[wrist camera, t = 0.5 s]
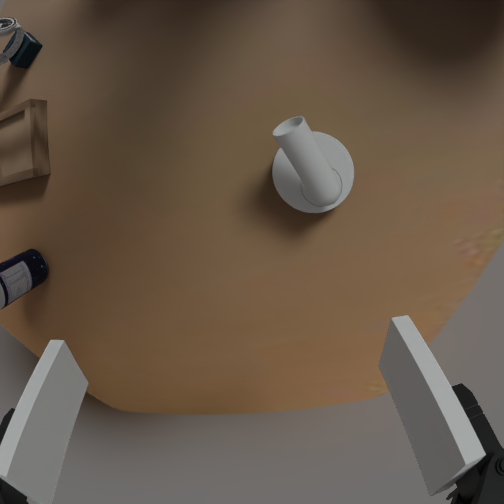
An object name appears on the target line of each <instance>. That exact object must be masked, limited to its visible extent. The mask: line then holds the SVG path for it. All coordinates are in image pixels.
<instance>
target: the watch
mask: <svg viewBox="0 0 504 504" xmlns="http://www.w3.org/2000/svg"><path fill="white" fill-rule="evenodd" d="M13 31H15V33H14V35H13V36H12V38H11V39H10V41H9V42H8V44H7V46H6V47H5V49H4V51H3V54H2V53H1V54H0V65H1V64H3V63H5V62H7V60H8V59H9V60H10V62H11V63H12V64H13V65H14V66H15V67H21V68H26V69H28V67H29V66H30V64H31V63H32V61H33V59H34V58H35V56H36V55H37V53H38V52H39V50H40V49H41V47H42V45H41V44H40V43H39V42H38V41H37V40H36V39H35V38H34V37H33V36H32V35H31V34H30V33H28V32H25V31H23V29H22V27H21V26H20V25H19V24H18V23H17V21H16V20H15V19H14V18H11V17H2V18H0V38H2V37H5V36H8V35H10V34H11V33H12V32H13Z"/></svg>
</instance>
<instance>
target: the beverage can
mask: <svg viewBox="0 0 504 504" xmlns="http://www.w3.org/2000/svg"><path fill="white" fill-rule="evenodd" d="M47 270H48V267H47V262H46V260H45V258H44V256H43V255H42V254H41V253H39V252H38V251H37V250H35V249H29V250H27V251H25V252H23V253H21V254H18V255H16V256H14V257H12V258H10V259H8V260H6V261H4V262H2V263H0V309H2V308H4V307H6V306H7V305H9V304H10V303H12V302H13V301H15V300H16V299H18V298H19V297H21V296H22V295H24V294H25V293H27V292H29V291H30V290H32V289H33V288H35V287H36V286H38V285H40V284H41V283H43V282H44V281H45V280H46V278H47Z"/></svg>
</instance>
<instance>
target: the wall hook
mask: <svg viewBox="0 0 504 504" xmlns="http://www.w3.org/2000/svg"><path fill="white" fill-rule="evenodd" d="M273 136H274V137H275V139H276V140H277V142H278V143H279V145H280V149H279V150H278V152H277V154H276V156H275V158H274V162H273V167H272V176H273V182H274V185H275V188H276V190H277V192H278V193H279V195H280V196H281V198H282V199H283V200H284V201H285V202H286V203H287V204H289V205H290V206H292V207H293V208H295V209H297V210H300V211H303V212H307V213H321V212H325V211H328V210H331V209H333V208H335V207H336V206H338V205H339V204H340V203H341V202H342V201H343V200H344V199H345V198H346V197H347V195H348V194H349V192H350V190H351V187H352V184H353V180H354V167H353V162H352V159H351V157H350V155H349V153H348V151H347V150H346V148H345V147H344V146H343V145H342V144H341V143H340V142H339V141H338V140H336V139H335V138H333V137H332V136H330V135H327V134H324V133H320V132H311V130H310V128H309V126H308V125H307V123H306V121H305V119H304V118H303V117H302V116H297V117H293V118H290V119H288V120H286V121H284V122H283V123H281V124H280V125H279V126H277V127H276V128H275V130H274V131H273Z"/></svg>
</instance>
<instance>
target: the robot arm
mask: <svg viewBox="0 0 504 504" xmlns="http://www.w3.org/2000/svg"><path fill="white" fill-rule="evenodd" d="M379 368H380V370H381V372H382V375H383V377H384V379H385V382H386V384H387V386H388V389H389V391H390V393H391V395H392V398H393V400H394V403H395V405H396V408H397V410H398V413H399V415H400V417H401V420H402V422H403V425H404V427H405V430H406V432H407V435H408V438H409V440H410V443H411V445H412V448H413V451H414V453H415V456H416V459H417V461H418V464H419V467H420V470H421V472H422V475H423V478H424V481H425V484H426V486H427V489H428V492H429V495H430V496H432V495H435V494H437V493H440V492H442V491H444V490H447V489H449V488H450V487H451V486H452V485H453V484H455V483H456V485H457V488H456V489H455V490H454V491H453V492H451V493H450V494H449V495H448V497H447V498H446V500H449V499H450V498H452V497H453V499H452V501H451V504H504V449H503V448H502V446H501V445H500V443H499V442H498V440H497V438H496V436H495V434H494V432H493V430H492V428H491V426H490V424H489V422H488V420H487V418H486V417H485V415H484V414H483V411H482V409H481V407H480V406H479V405H478V402H477V400H476V399H475V397H474V395H473V393H472V392H471V391H470V390H469V389H467V388H466V387H465V386H464V385H463V384H462V383H461V384H458V385H455V386H452V387H451V386H450V384H449V383H448V380H447V379H446V377H445V375H444V373H443V372H442V370H441V368H440V367H439V365H438V363H437V361H436V360H435V358H434V356H433V355H432V353H431V351H430V350H429V348H428V346H427V345H426V343H425V341H424V340H423V338H422V337H421V335H420V333H419V332H418V330H417V329H416V327H415V325H414V324H413V322H412V321H411V319H410V318H409V316H408V315H406V316H400V317H394V318H391V321H390V325H389V329H388V333H387V337H386V340H385V344H384V348H383V351H382V355H381V358H380V362H379ZM87 386H88V381H87V380H86V378H85V376H84V375H83V373H82V371H81V370H80V368H79V366H78V364H77V363H76V361H75V359H74V357H73V356H72V354H71V352H70V350H69V348H68V346H67V345H66V343H65V341H64V340H50V342H49V343H48V345H47V347H46V349H45V351H44V353H43V354H42V356H41V358H40V360H39V362H38V364H37V366H36V368H35V370H34V372H33V374H32V376H31V378H30V380H29V382H28V384H27V386H26V388H25V390H24V392H23V395H22V396H21V398H20V401H19V403H18V405H17V407H16V409H13V408H11V410H10V411H9V412H8V413H7V414H6V415H5V416H4V418H3V421H2V423H1V425H0V504H28V502H27V501H26V500H27V497H28V498H30V499H31V500H33V501H34V502H36V503H38V504H52V502H53V498H54V494H55V490H56V486H57V482H58V478H59V474H60V470H61V467H62V463H63V460H64V456H65V453H66V450H67V446H68V443H69V440H70V436H71V433H72V430H73V427H74V424H75V420H76V418H77V415H78V412H79V409H80V406H81V403H82V400H83V397H84V394H85V392H86V389H87Z"/></svg>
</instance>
